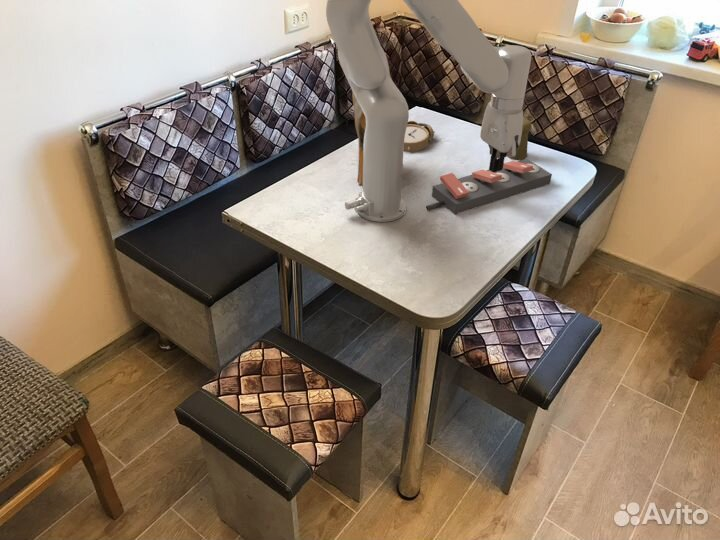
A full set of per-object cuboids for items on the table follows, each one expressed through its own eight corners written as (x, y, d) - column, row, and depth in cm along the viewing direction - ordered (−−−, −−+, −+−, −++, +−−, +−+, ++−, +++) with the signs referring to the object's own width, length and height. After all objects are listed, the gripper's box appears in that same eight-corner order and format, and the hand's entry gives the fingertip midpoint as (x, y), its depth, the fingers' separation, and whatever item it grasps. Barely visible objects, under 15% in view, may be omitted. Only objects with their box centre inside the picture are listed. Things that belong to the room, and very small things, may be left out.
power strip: (438, 219, 153) (439, 208, 151) (415, 200, 160) (416, 189, 157) (549, 183, 168) (552, 172, 165) (524, 168, 174) (526, 157, 172)
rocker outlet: (522, 176, 161) (522, 168, 161) (502, 170, 168) (502, 163, 167) (532, 173, 163) (532, 165, 162) (513, 167, 169) (513, 160, 168)
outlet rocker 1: (455, 201, 155) (457, 195, 153) (439, 181, 159) (440, 175, 157) (466, 197, 156) (469, 192, 155) (450, 178, 160) (452, 172, 158)
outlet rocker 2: (491, 185, 157) (490, 178, 156) (472, 179, 163) (471, 172, 163) (502, 182, 159) (501, 174, 158) (482, 176, 165) (482, 169, 164)
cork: (528, 160, 178) (536, 125, 171) (507, 160, 178) (514, 124, 171) (524, 150, 183) (531, 116, 176) (504, 150, 183) (510, 115, 176)
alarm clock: (382, 136, 183) (411, 111, 190) (383, 150, 186) (412, 125, 194) (414, 147, 177) (442, 122, 185) (414, 161, 181) (442, 135, 188)
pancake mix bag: (342, 182, 166) (342, 81, 149) (383, 156, 179) (387, 59, 161) (362, 190, 163) (365, 87, 146) (402, 163, 175) (409, 65, 158)
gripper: (474, 93, 149) (465, 161, 160) (515, 116, 139) (503, 186, 150) (498, 87, 152) (488, 154, 163) (540, 109, 142) (526, 179, 153)
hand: (495, 169), depth 157 cm, fingers closed
